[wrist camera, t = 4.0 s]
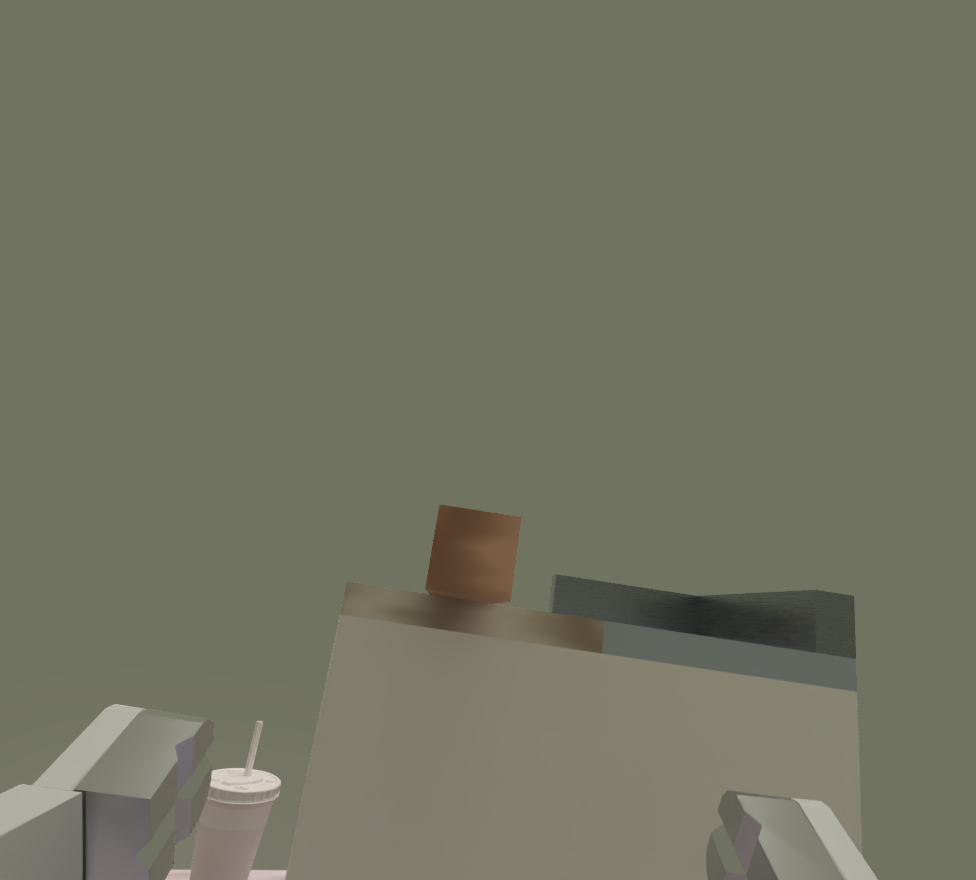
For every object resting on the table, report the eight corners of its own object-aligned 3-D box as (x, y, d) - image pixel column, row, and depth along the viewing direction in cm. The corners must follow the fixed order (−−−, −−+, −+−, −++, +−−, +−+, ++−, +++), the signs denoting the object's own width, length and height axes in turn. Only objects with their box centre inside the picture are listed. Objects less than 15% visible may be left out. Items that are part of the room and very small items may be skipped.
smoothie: (269, 911, 48) (308, 725, 52) (214, 947, 42) (262, 735, 46) (206, 888, 50) (249, 711, 54) (146, 920, 45) (198, 719, 48)
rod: (425, 589, 21) (439, 504, 21) (433, 598, 40) (441, 553, 41) (510, 602, 21) (521, 517, 22) (477, 605, 40) (484, 560, 41)
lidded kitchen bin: (191, 1333, 21) (359, 519, 29) (298, 1025, 36) (388, 550, 44) (878, 1410, 22) (853, 596, 30) (697, 1077, 37) (714, 600, 45)
